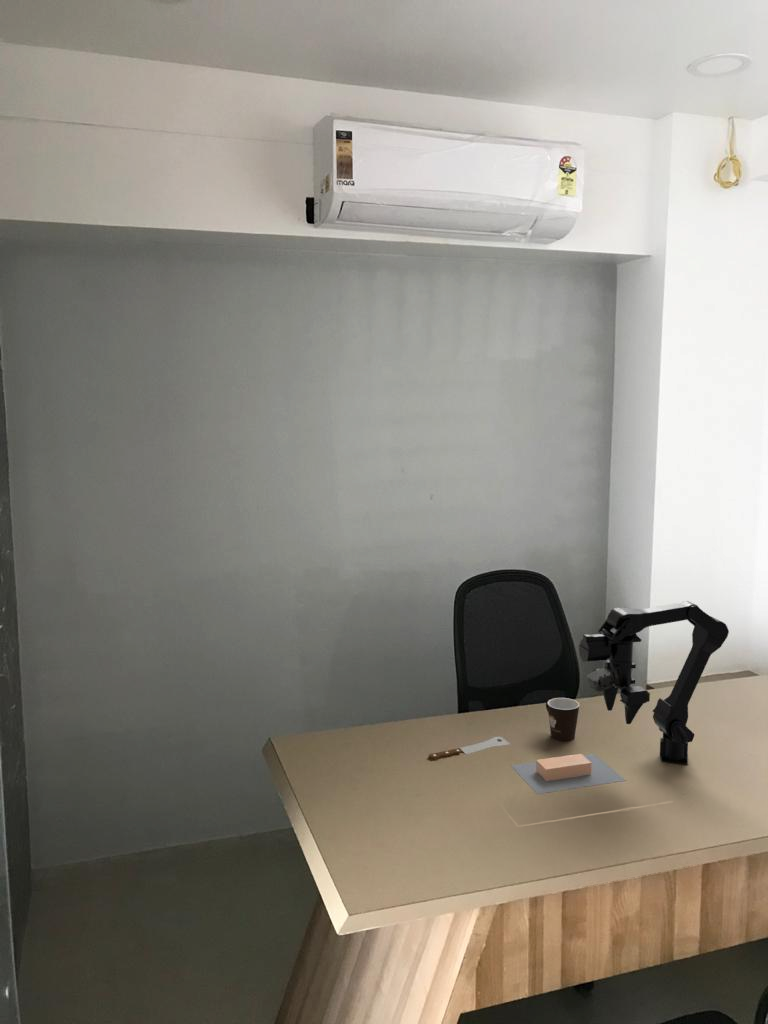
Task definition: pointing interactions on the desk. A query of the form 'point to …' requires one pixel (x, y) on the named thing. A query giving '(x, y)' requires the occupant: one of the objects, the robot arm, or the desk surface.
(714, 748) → the desk surface
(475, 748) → the kitchen cleaver
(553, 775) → the tall peach block
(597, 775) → the felt mat
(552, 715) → the coffee mug
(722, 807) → the desk surface
